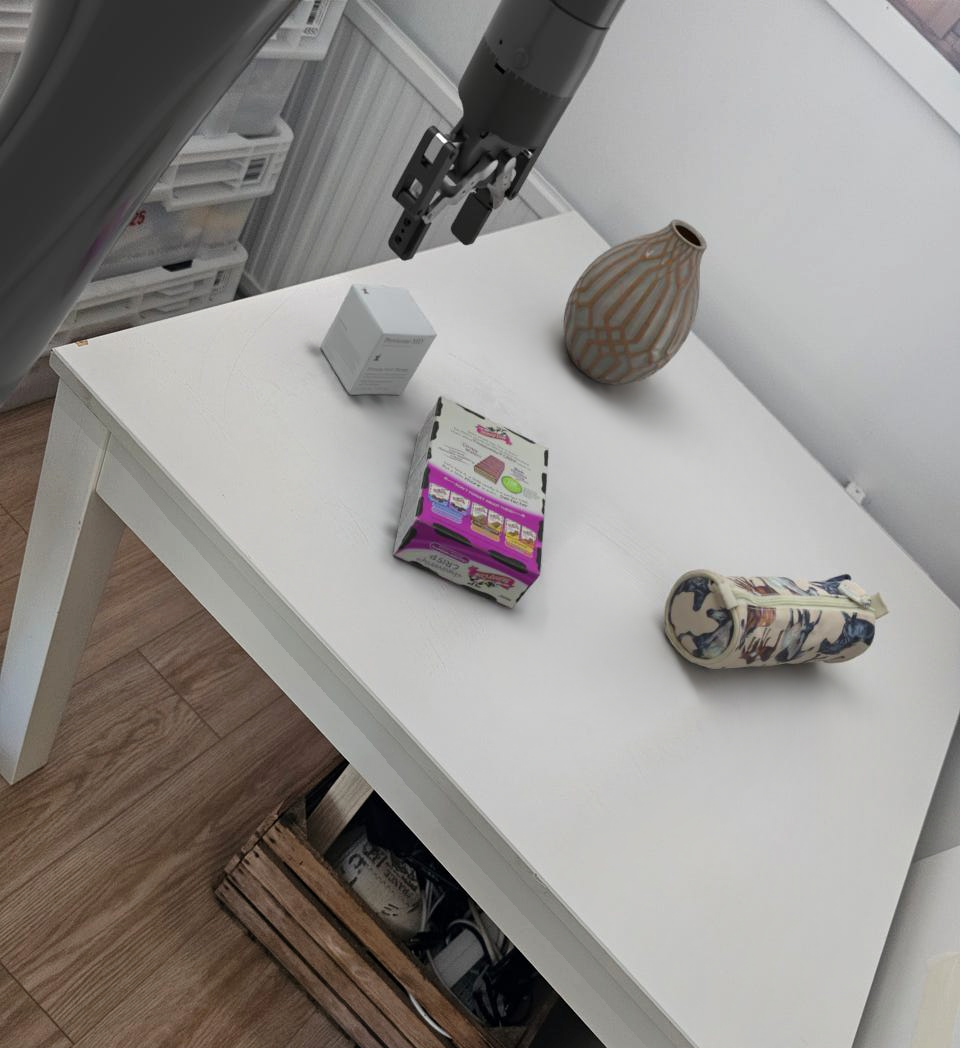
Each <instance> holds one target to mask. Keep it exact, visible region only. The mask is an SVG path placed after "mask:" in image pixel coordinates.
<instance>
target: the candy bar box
mask: <svg viewBox="0 0 960 1048" xmlns="http://www.w3.org/2000/svg"><path fill="white" fill-rule="evenodd" d="M549 452H550V449H549V448H548V447H546V446H543V445H541V444H540V443H538V442H536V441H534V440H532V439H530V438H527V437H526V436H524V435H522V434H519V433H517V432H516V431H514V430H511V429H509V428H507V427H506V426H504V425H501V424H499V423H497V422H495V421H493V420H492V419H490V418H487V417H486V416H483V415H482V414H479V413H478V412H475V411H474V410H472V409H469V408H467V407H465V406H463V405H461V404H459V403H458V402H455V401H453V400H451V399H449V398H447V397H446V396H443V395H440V396H439V397H438V399H436V402H435V403H434V405H433V407H432V408H431V410H430V412H429V413H428V415H427V417H426V418H425V420H424V422H423V424H422V425H421V427H420V429H419V431H418V433H417V436H416V442H415V447H414V452H413V455H412V460H411V467H410V471H409V474H408V481H407V485H406V490H405V494H404V498H403V504H402V508H401V513H400V519H399V524H398V528H397V534H396V539H395V544H394V547H393V554H392V555H393V556H394V557H396V558H399V559H400V560H403V561H405V562H406V563H409V564H411V565H414V566H416V567H418V568H421V569H422V570H425V571H428V572H430V573H432V574H434V575H437V576H439V577H441V578H444V579H446V580H448V581H450V582H452V583H453V584H456V585H459V586H461V587H463V588H465V589H468V590H470V591H472V592H474V593H477V594H479V595H481V596H483V597H485V598H488V599H490V600H492V601H495V602H497V603H498V604H501V605H503V606H505V607H507V608H510V609H513V608H514V607H515V606H516V605H517V604H518V603H519V601H520V600H521V599H522V597H524V595H525V593H526V592H527V591H528V590H529V589H530V588H531V587H532V586H533V584H535V582H536V581H537V580H538V579H539V577H540V576H541V571H542V569H541V568H542V560H543V559H542V558H543V557H542V556H543V541H544V527H545V526H544V524H545V511H546V510H545V509H546V507H545V506H546V500H547V499H546V498H547V485H548V484H547V482H548V466H549V454H550V453H549Z"/></svg>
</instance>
